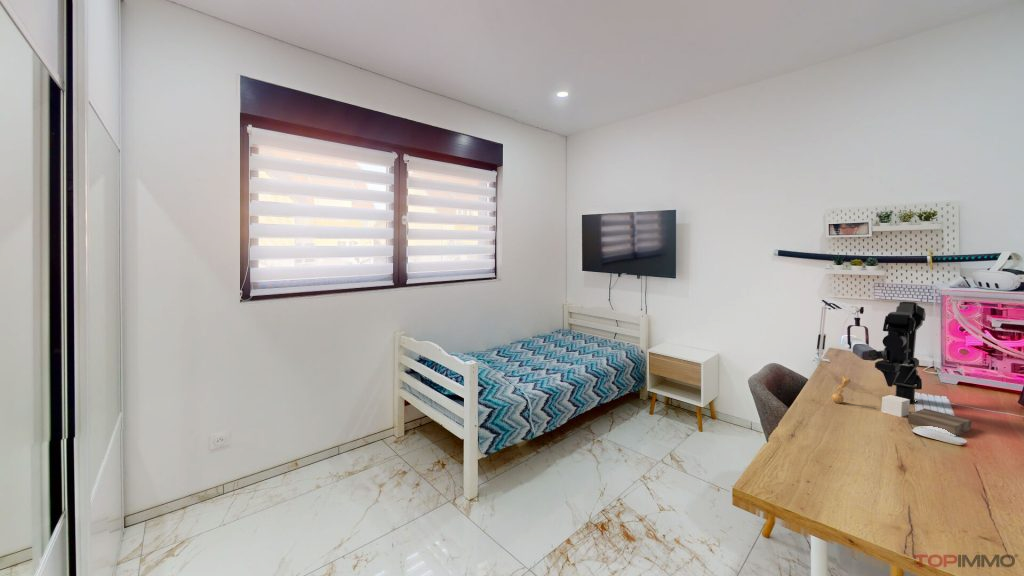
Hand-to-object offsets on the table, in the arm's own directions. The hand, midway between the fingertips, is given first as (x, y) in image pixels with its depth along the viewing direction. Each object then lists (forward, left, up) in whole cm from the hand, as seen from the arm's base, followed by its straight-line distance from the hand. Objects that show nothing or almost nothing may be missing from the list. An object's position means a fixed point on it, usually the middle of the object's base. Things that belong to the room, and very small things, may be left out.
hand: (896, 384), depth 153 cm
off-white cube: (0, 0, -11) cm, 11 cm away
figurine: (+7, -15, -12) cm, 20 cm away
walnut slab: (+2, +13, -12) cm, 18 cm away
